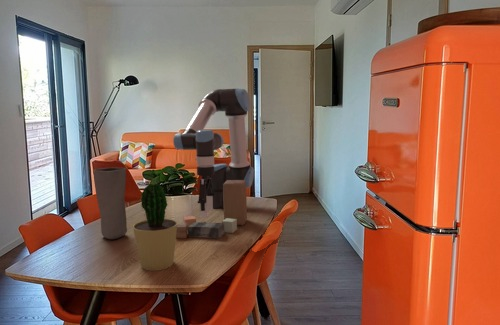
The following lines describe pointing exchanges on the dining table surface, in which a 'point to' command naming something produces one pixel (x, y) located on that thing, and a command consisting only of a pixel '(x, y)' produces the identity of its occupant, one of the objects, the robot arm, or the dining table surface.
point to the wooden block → (235, 200)
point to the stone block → (206, 230)
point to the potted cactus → (155, 231)
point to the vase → (111, 201)
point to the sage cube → (230, 225)
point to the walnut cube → (181, 231)
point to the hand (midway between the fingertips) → (206, 214)
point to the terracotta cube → (189, 220)
